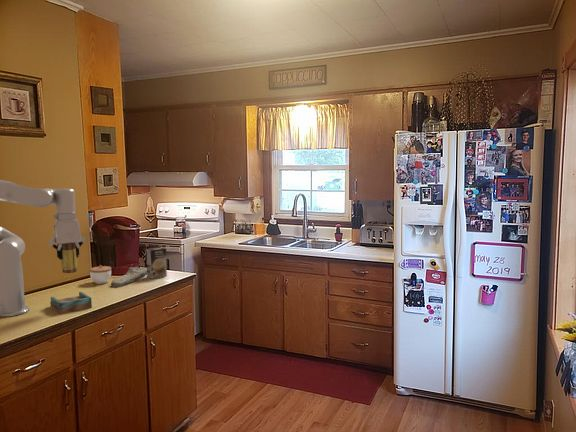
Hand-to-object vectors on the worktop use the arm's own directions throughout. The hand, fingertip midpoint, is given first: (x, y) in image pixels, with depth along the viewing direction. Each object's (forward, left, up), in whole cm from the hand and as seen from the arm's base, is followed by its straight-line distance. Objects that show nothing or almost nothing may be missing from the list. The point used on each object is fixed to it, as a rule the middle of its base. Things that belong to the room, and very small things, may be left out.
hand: (68, 257), depth 203 cm
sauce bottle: (0, 0, -7) cm, 7 cm away
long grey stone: (+41, +31, -23) cm, 56 cm away
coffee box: (+54, +27, -22) cm, 64 cm away
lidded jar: (+26, +35, -22) cm, 49 cm away
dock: (0, 0, -22) cm, 22 cm away
